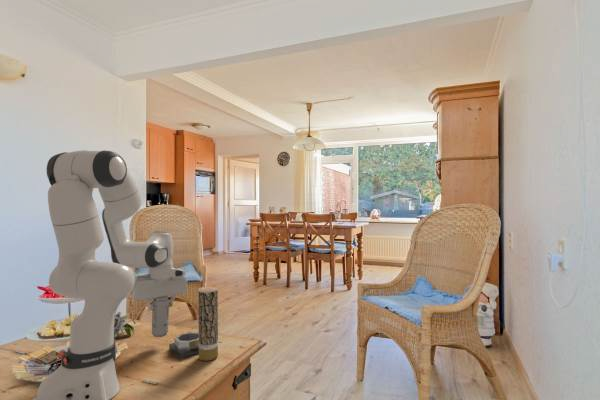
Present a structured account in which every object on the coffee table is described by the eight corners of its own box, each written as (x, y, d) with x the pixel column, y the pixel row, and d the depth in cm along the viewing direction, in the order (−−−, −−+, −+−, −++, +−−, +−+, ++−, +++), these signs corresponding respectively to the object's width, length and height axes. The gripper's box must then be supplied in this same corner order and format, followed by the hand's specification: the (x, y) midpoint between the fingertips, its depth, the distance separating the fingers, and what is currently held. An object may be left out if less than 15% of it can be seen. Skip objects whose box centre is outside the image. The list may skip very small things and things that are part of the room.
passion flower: (110, 352, 142) (91, 330, 140) (124, 337, 153) (106, 317, 151) (130, 338, 140) (111, 316, 139) (143, 324, 151) (126, 303, 150)
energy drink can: (167, 336, 132) (168, 297, 132) (150, 338, 130) (151, 298, 130) (168, 331, 138) (169, 293, 138) (152, 332, 136) (153, 294, 136)
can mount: (180, 359, 123) (180, 345, 123) (169, 349, 132) (169, 336, 132) (208, 350, 131) (208, 337, 131) (196, 341, 139) (196, 329, 139)
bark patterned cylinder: (212, 362, 121) (212, 291, 121) (195, 360, 122) (195, 290, 122) (221, 354, 127) (220, 286, 128) (204, 352, 129) (204, 286, 129)
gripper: (135, 277, 125) (134, 315, 125) (189, 270, 139) (188, 305, 138) (130, 274, 130) (129, 311, 129) (182, 268, 143) (182, 302, 143)
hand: (160, 308), depth 134 cm, fingers closed on energy drink can, 6 cm apart
